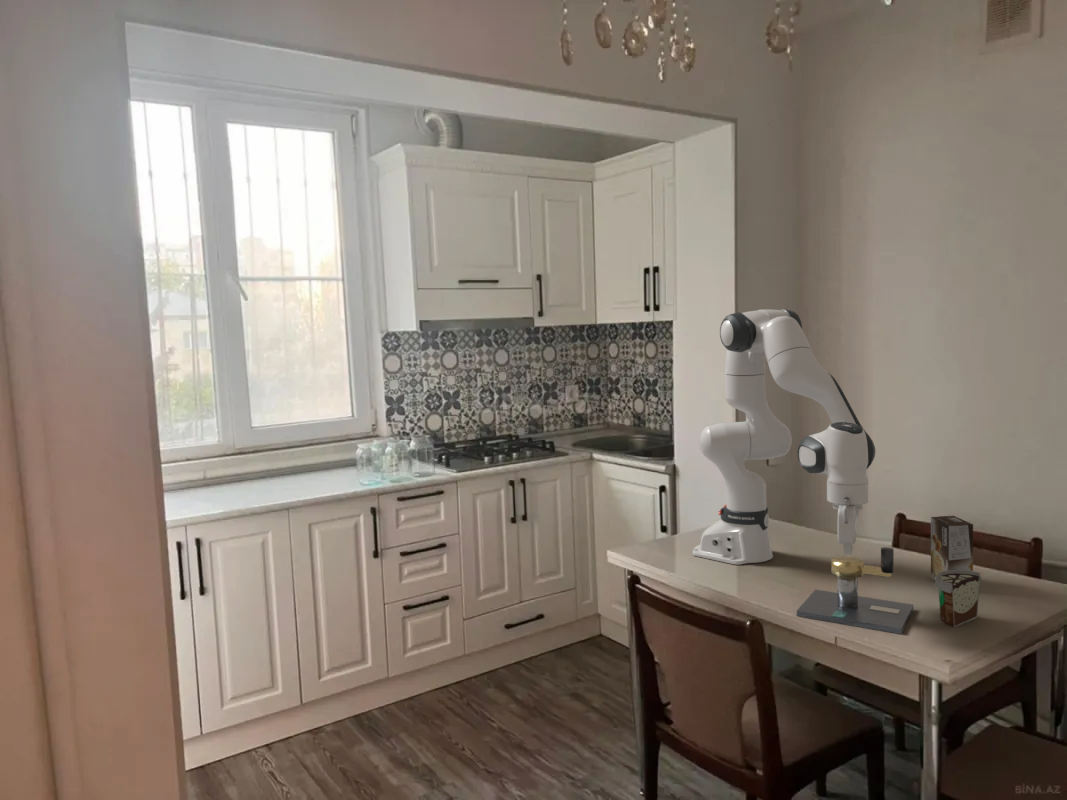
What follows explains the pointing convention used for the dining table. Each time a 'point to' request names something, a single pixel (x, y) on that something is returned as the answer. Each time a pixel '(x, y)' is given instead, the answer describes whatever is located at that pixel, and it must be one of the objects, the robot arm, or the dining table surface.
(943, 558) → the coffee box
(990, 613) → the dining table surface
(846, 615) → the labelled display base
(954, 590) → the food container
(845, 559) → the brass crank knob
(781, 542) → the dining table surface
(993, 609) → the dining table surface
